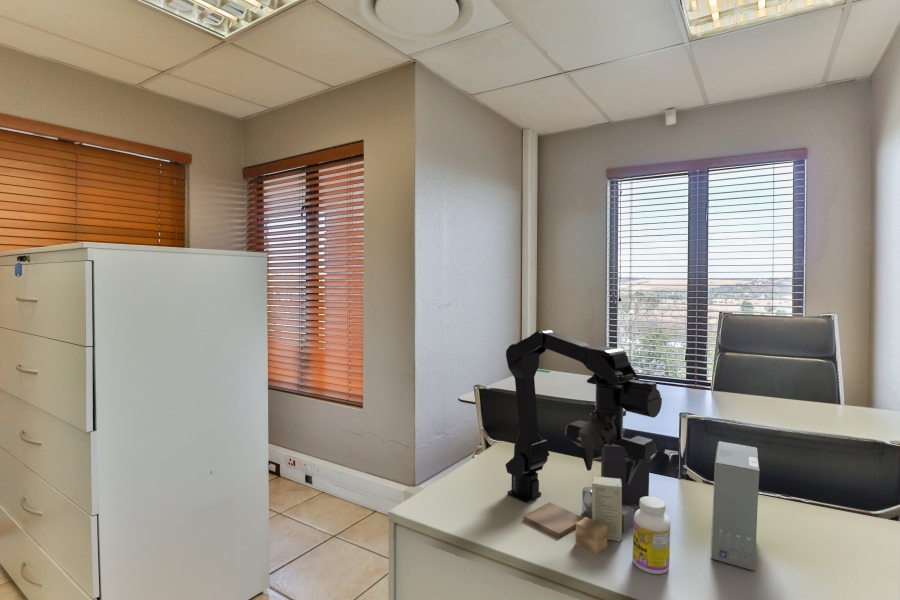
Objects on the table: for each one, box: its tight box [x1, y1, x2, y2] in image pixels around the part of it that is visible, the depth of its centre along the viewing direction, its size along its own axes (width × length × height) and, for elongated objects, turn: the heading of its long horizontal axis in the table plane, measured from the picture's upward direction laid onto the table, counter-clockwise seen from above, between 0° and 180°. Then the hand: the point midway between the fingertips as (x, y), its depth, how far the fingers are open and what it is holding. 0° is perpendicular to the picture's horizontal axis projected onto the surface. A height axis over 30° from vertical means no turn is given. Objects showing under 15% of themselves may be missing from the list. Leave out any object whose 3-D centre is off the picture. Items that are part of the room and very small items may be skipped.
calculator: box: [600, 444, 651, 506], centre depth 117 cm, size 11×4×15 cm, turn 84°
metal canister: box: [581, 486, 592, 519], centre depth 111 cm, size 4×4×6 cm
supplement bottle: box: [632, 495, 671, 575], centre depth 92 cm, size 7×7×13 cm
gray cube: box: [622, 505, 634, 533], centre depth 106 cm, size 4×4×4 cm
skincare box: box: [591, 475, 623, 542], centre depth 102 cm, size 6×4×12 cm
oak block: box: [575, 517, 608, 555], centre depth 99 cm, size 5×4×4 cm
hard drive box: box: [710, 440, 760, 571], centre depth 98 cm, size 16×8×20 cm, turn 148°
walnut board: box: [522, 501, 585, 539], centre depth 108 cm, size 10×10×1 cm
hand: (607, 476), depth 102 cm, fingers open, 9 cm apart
